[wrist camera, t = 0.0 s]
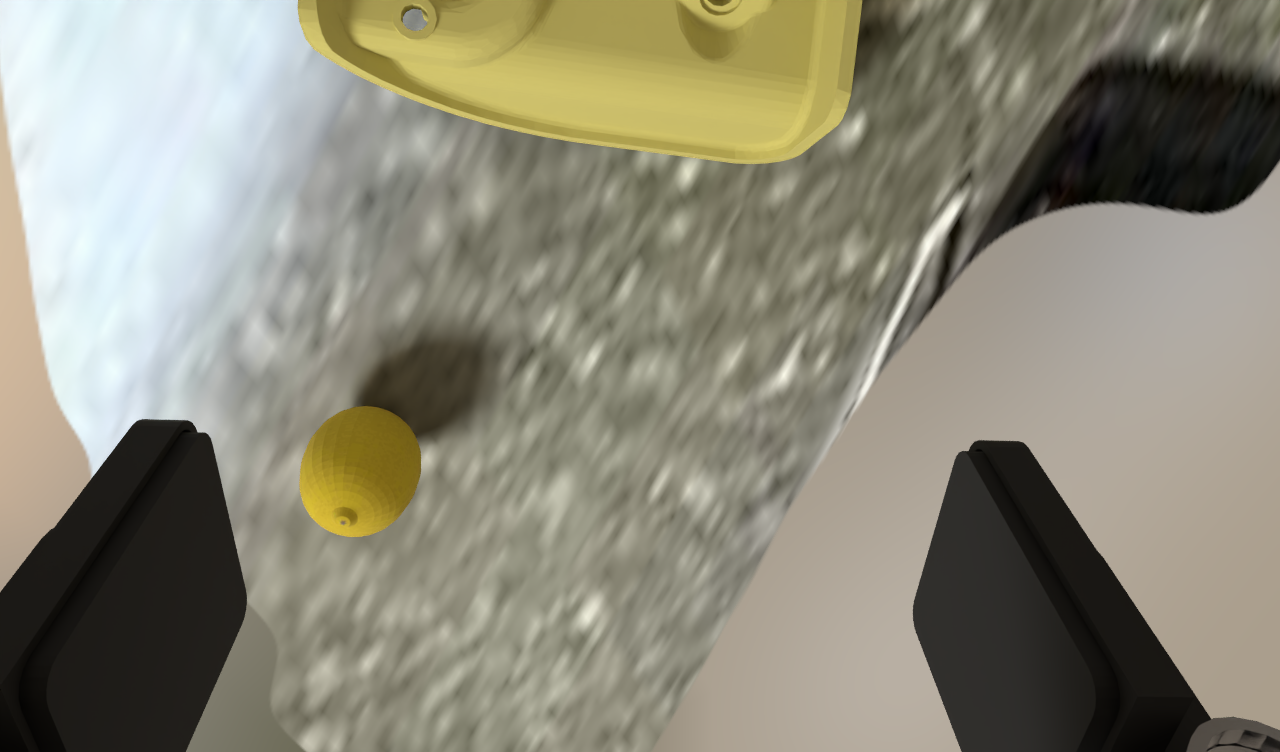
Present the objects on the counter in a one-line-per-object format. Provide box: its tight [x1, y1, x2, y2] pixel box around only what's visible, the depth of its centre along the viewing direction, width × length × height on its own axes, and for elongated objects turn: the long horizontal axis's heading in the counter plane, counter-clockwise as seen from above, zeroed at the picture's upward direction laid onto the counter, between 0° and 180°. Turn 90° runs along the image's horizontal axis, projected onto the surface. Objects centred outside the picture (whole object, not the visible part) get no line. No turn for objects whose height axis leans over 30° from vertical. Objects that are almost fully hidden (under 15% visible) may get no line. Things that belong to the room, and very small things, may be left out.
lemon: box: [300, 406, 421, 537], centre depth 45 cm, size 6×6×8 cm
